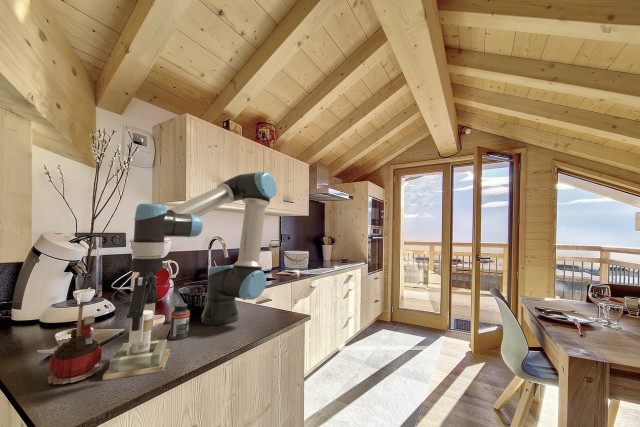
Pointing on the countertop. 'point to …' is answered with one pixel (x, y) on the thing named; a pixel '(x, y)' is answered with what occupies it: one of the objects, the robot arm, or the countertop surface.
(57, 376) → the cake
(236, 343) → the countertop surface
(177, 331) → the supplement bottle
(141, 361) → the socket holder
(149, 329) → the sprinkles bottle
